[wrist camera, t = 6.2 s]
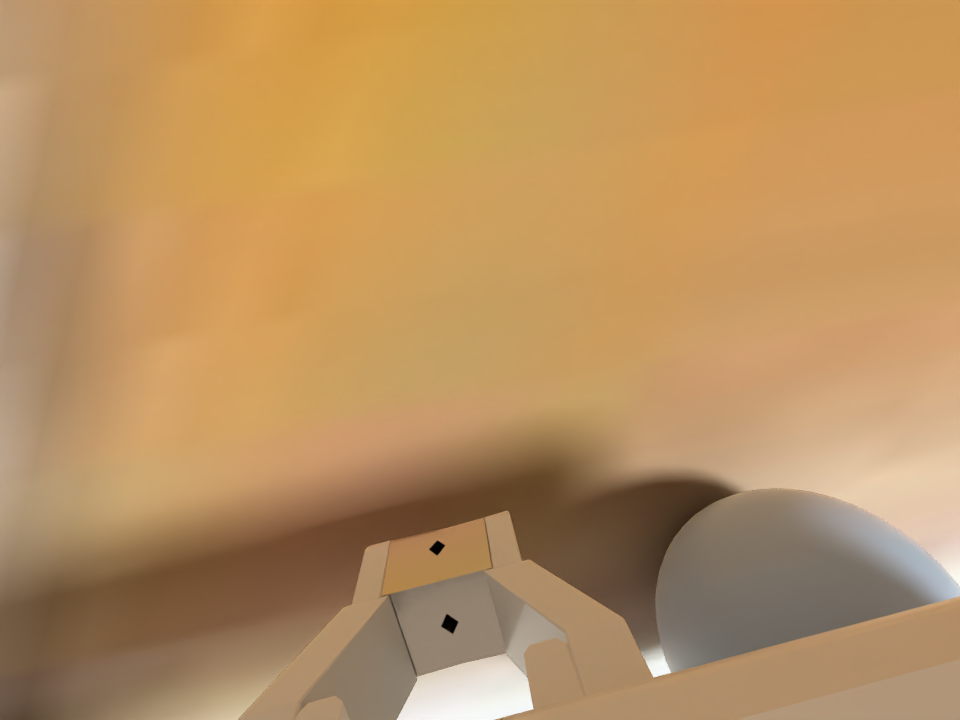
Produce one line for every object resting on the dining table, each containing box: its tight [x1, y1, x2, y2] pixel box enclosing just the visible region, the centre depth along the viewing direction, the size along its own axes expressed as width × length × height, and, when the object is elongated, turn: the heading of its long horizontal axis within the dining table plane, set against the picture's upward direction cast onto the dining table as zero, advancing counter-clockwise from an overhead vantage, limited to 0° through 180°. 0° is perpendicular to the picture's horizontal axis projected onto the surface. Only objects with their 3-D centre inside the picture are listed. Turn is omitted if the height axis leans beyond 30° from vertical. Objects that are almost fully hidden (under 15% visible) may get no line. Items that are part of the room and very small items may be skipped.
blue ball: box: [655, 489, 960, 673], centre depth 9 cm, size 6×6×6 cm
